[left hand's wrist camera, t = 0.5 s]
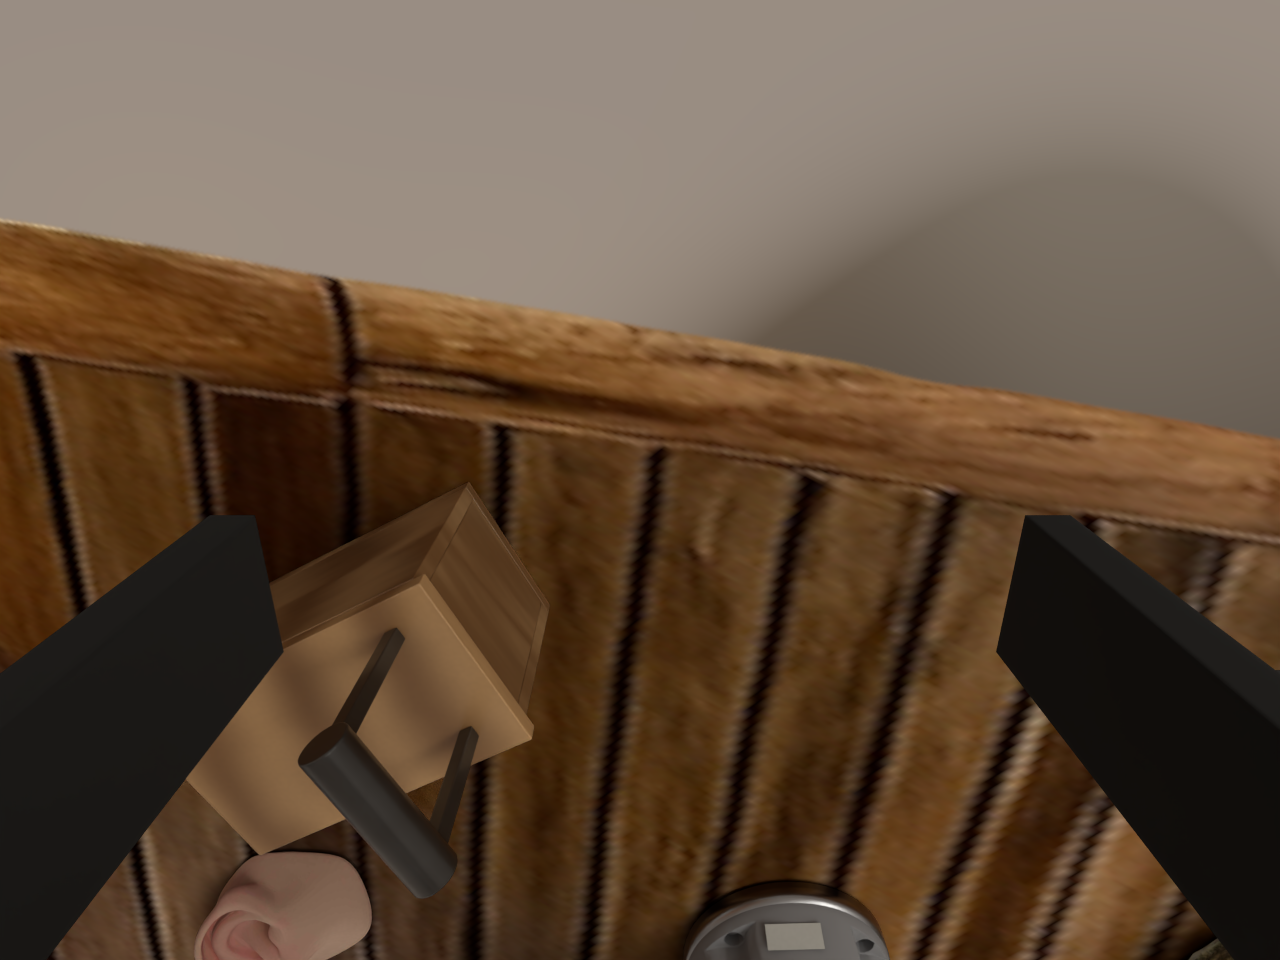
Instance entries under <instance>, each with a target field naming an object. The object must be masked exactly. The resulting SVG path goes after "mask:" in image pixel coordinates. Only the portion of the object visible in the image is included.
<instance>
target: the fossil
mask: <svg viewBox="0 0 1280 960" xmlns="http://www.w3.org/2000/svg"><path fill="white" fill-rule="evenodd" d="M1189 960H1234V959H1233V958H1232V957H1231V955H1230V954H1229V953H1228V951H1227V950H1226V949H1225V948H1224V946H1223V945H1222V944H1221V942H1220V941H1219V940H1218V938H1217V939H1216V940H1214V941H1213V942H1211V943H1210V944H1208V945H1207V946H1205V947H1204V948H1202V949H1201V950H1199V951H1197V952H1195V953H1193V954H1192V956H1191V957H1190V959H1189Z"/></svg>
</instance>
